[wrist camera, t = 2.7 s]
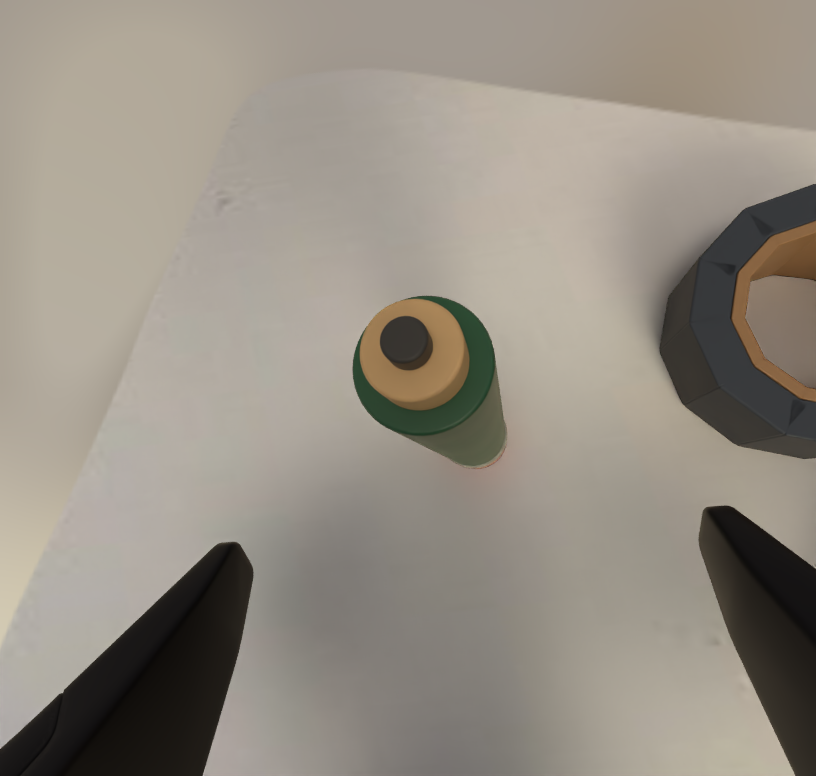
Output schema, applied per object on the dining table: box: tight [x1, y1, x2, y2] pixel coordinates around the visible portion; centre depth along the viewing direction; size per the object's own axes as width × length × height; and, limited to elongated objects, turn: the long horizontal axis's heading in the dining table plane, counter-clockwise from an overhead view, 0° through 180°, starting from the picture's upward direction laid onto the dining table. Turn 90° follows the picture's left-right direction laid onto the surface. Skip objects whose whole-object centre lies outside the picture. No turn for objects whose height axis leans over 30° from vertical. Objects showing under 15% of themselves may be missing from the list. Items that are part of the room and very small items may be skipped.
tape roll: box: [660, 184, 816, 459], centre depth 17 cm, size 8×8×4 cm
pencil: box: [353, 296, 507, 469], centre depth 14 cm, size 2×2×14 cm
